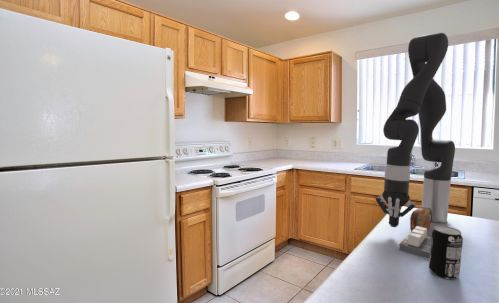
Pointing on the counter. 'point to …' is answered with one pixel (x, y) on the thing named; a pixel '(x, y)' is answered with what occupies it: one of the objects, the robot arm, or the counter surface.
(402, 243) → the switch panel
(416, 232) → the tab
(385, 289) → the counter surface
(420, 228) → the tab
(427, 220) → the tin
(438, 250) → the beverage can
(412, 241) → the tab
